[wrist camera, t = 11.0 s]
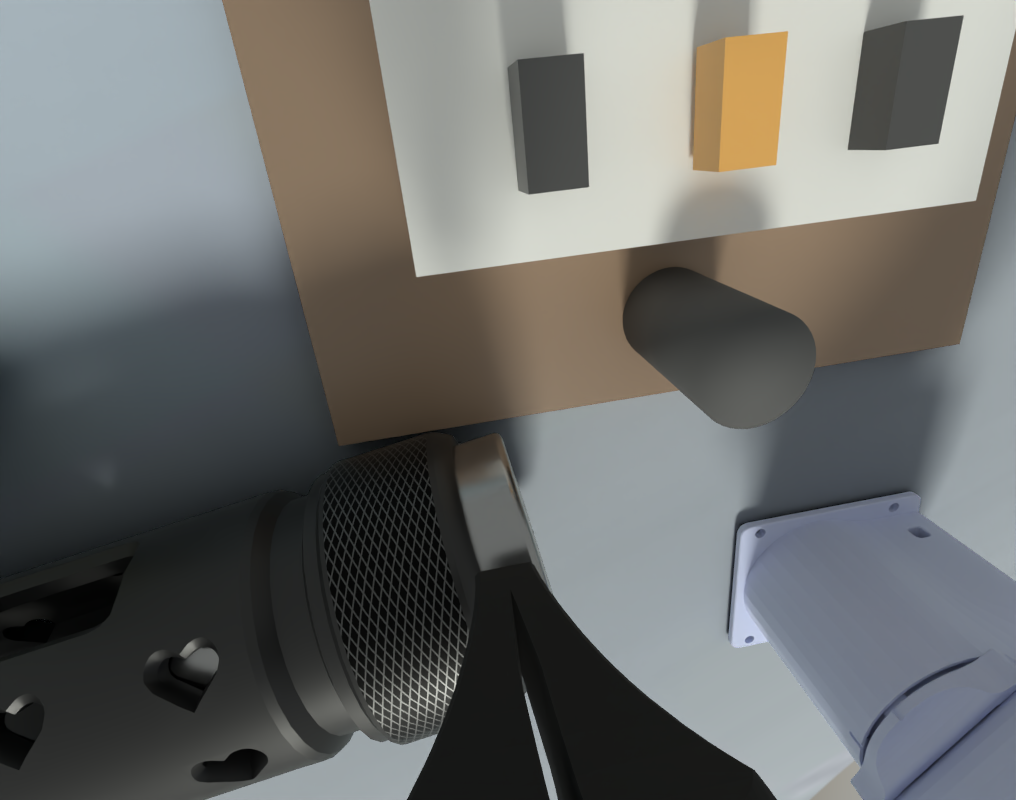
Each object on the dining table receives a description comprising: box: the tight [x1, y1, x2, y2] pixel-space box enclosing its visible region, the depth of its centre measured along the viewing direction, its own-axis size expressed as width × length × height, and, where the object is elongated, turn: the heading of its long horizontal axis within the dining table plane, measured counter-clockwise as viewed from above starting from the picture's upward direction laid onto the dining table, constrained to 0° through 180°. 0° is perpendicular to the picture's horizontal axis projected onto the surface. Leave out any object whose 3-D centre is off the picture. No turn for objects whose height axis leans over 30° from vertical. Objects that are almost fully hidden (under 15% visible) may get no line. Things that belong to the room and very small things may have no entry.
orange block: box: [693, 31, 788, 172], centre depth 15 cm, size 2×3×2 cm, turn 6°
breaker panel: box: [222, 0, 1016, 446], centre depth 17 cm, size 26×20×6 cm
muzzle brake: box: [0, 432, 553, 800], centre depth 20 cm, size 10×28×10 cm
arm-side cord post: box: [623, 267, 816, 429], centre depth 19 cm, size 4×4×6 cm
